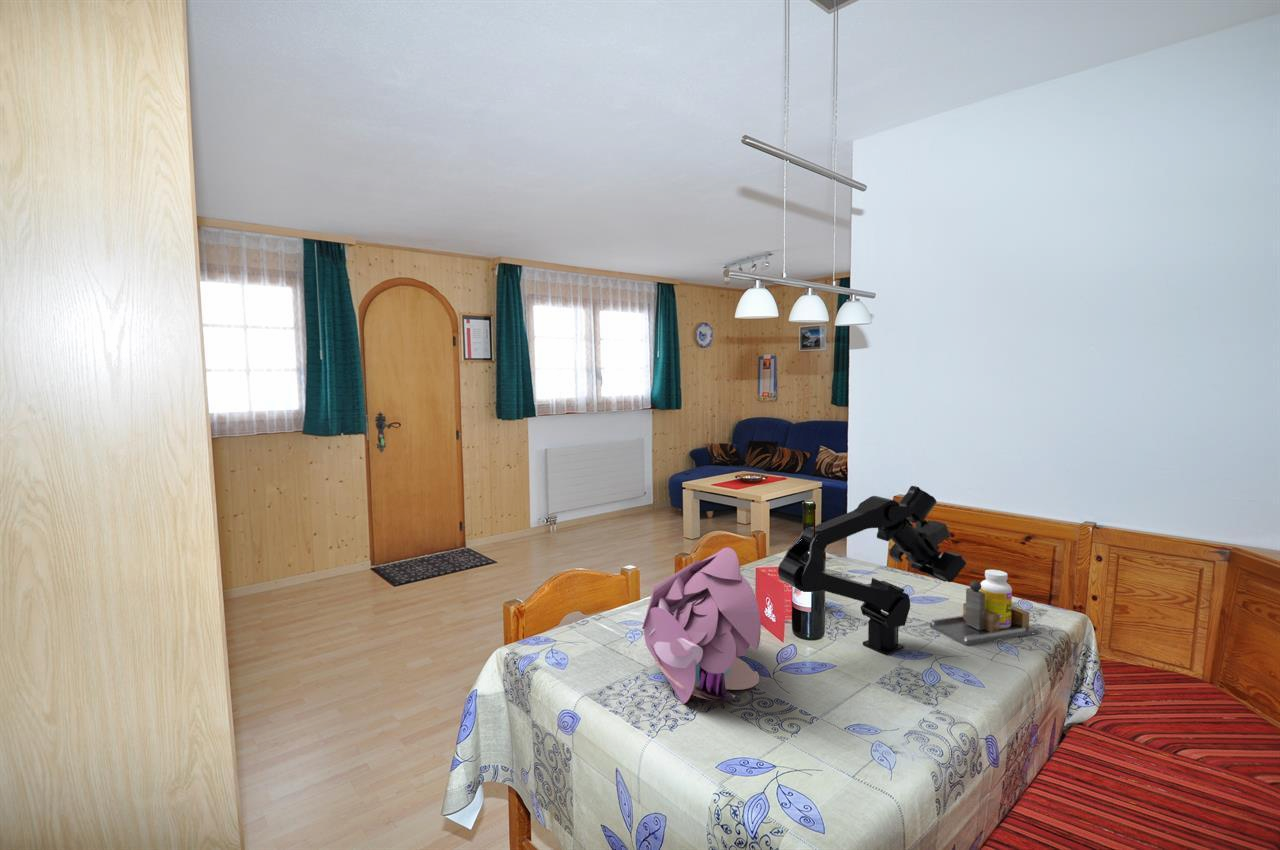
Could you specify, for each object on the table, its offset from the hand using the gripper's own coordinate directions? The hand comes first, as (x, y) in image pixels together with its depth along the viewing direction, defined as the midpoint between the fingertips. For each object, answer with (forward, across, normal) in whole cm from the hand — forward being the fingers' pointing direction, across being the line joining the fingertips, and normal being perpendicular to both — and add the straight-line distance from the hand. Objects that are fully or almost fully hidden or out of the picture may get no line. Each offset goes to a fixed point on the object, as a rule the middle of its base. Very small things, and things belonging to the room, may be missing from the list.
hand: (945, 579), depth 138 cm
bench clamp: (+17, 0, +2) cm, 18 cm away
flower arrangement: (-33, 0, +52) cm, 62 cm away
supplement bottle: (+20, 0, -1) cm, 20 cm away
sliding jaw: (+15, 0, +2) cm, 15 cm away
